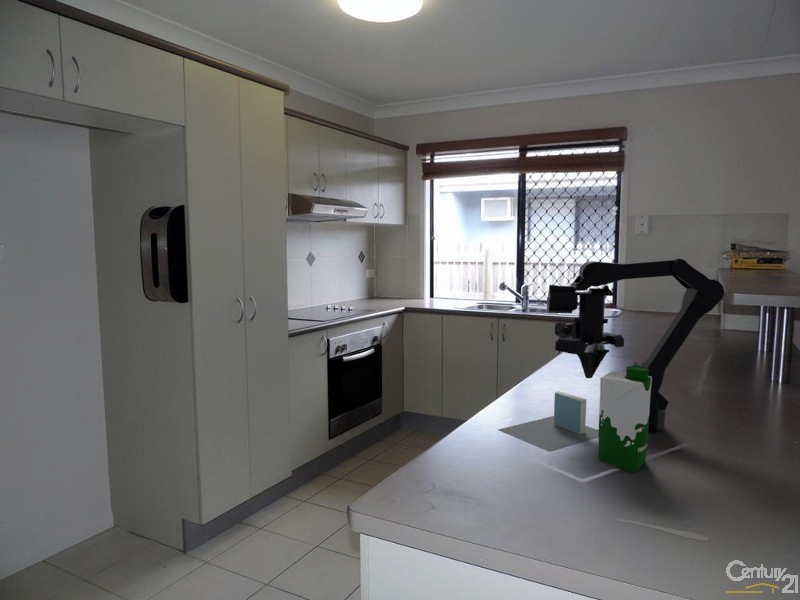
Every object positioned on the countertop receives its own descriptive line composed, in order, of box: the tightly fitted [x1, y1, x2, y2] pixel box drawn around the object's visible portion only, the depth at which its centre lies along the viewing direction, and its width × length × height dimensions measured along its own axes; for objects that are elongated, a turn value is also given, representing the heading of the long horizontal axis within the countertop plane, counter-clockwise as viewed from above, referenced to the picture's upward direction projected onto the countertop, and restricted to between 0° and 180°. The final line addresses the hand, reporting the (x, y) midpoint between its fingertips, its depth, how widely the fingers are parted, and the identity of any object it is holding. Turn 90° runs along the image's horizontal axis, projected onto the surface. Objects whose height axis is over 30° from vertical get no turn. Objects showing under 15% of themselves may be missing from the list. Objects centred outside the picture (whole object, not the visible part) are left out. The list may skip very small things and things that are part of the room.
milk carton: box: [597, 365, 652, 473], centre depth 111 cm, size 9×9×20 cm
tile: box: [553, 390, 587, 434], centre depth 130 cm, size 8×2×8 cm, turn 33°
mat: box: [497, 415, 599, 453], centre depth 128 cm, size 16×20×1 cm
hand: (588, 377), depth 133 cm, fingers closed
